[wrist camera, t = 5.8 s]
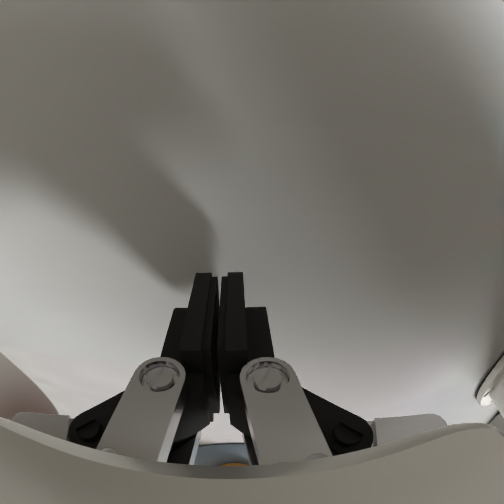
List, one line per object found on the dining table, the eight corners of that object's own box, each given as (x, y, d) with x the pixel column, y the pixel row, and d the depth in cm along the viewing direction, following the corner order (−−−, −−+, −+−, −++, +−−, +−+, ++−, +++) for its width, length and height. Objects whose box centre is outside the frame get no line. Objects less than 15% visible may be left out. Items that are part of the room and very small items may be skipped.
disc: (334, 454, 20) (334, 456, 20) (252, 490, 24) (252, 491, 24) (212, 429, 16) (212, 431, 16) (150, 467, 20) (150, 469, 20)
